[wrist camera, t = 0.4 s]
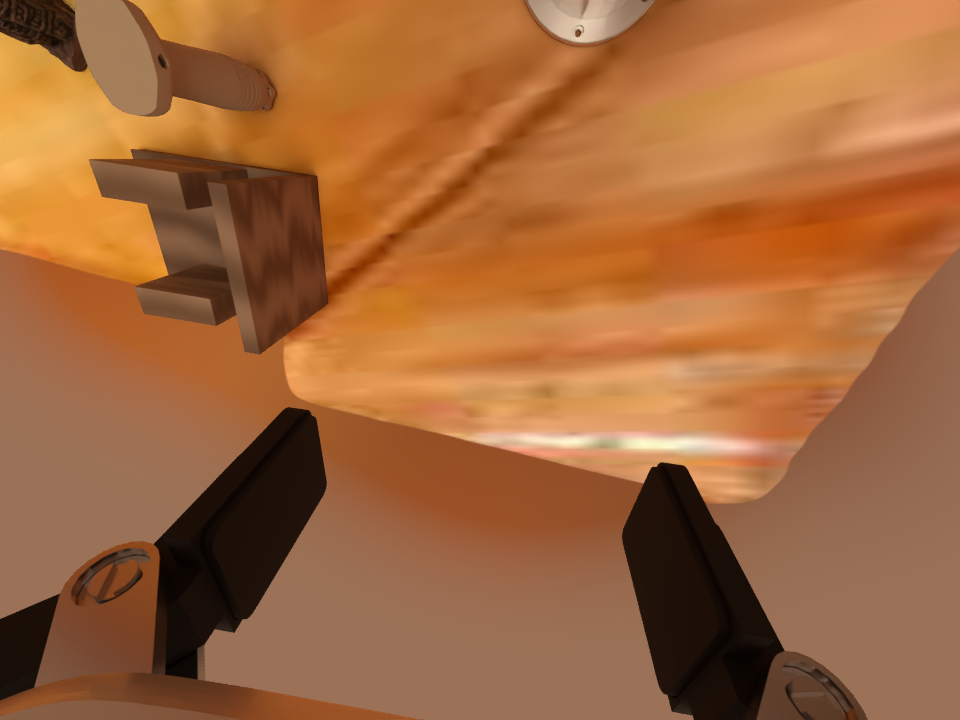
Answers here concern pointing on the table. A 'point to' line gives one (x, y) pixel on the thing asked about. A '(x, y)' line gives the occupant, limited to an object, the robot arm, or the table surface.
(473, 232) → the table surface
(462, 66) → the table surface
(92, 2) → the handle
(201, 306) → the wooden stand
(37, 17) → the statue
